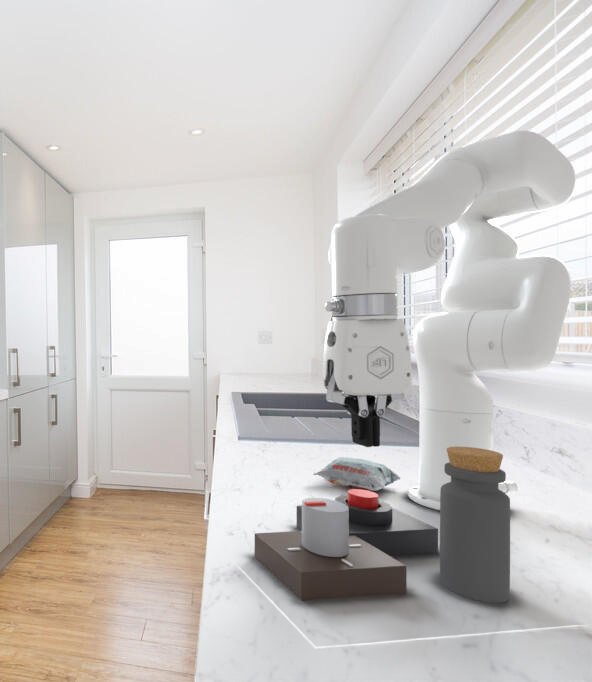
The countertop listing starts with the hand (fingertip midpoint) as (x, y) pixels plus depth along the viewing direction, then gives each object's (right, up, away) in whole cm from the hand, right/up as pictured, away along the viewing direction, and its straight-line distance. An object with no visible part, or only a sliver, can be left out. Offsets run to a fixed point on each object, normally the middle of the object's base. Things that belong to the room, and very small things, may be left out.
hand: (365, 444), depth 64 cm
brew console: (-11, -13, -10) cm, 19 cm away
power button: (-1, -8, 0) cm, 8 cm away
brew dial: (-11, -10, -10) cm, 17 cm away
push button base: (-1, -13, 0) cm, 13 cm away
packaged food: (+12, -13, +22) cm, 28 cm away
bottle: (+4, -13, -13) cm, 19 cm away
